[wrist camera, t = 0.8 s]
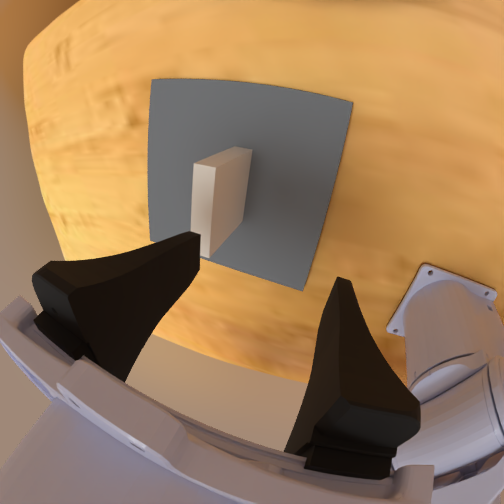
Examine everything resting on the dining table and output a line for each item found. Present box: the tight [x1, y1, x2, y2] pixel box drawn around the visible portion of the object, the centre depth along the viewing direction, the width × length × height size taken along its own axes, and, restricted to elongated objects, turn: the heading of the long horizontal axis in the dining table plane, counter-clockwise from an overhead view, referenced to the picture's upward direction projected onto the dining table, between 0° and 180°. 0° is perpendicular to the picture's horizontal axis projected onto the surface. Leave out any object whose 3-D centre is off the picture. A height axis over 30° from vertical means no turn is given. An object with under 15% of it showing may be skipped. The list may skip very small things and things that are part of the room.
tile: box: [191, 146, 252, 258], centre depth 19 cm, size 2×6×6 cm, turn 172°
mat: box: [148, 79, 353, 291], centre depth 22 cm, size 16×16×1 cm
